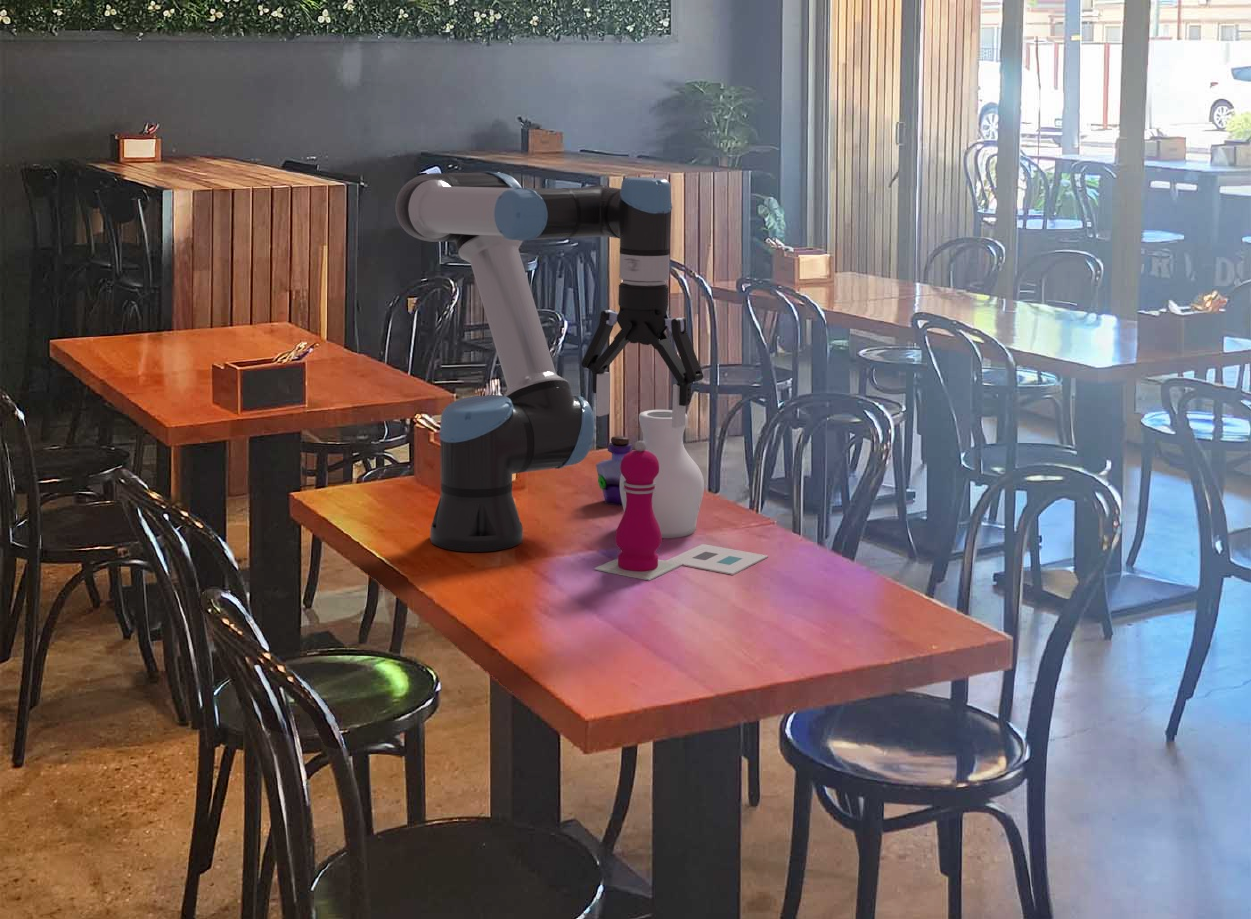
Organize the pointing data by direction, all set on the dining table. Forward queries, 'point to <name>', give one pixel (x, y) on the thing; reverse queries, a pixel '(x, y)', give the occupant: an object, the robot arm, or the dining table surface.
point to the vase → (671, 475)
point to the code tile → (717, 559)
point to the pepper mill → (638, 512)
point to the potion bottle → (613, 470)
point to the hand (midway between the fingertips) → (640, 420)
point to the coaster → (645, 575)
